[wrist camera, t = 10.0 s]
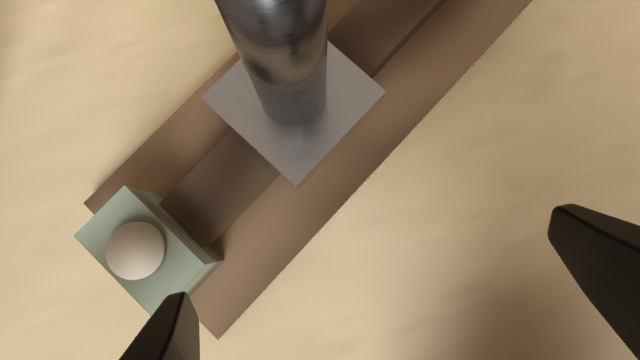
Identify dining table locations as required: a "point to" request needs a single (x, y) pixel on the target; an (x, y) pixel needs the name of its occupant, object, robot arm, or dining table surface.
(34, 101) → the dining table surface
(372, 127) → the board
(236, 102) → the carriage
